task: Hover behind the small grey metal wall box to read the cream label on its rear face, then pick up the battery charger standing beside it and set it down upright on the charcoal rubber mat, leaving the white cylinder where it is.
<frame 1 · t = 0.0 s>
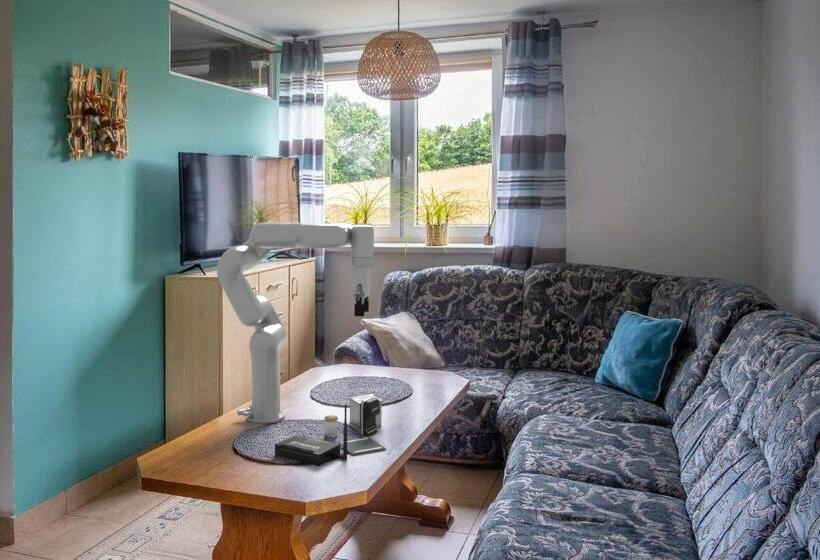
hand: (361, 313, 237), 37 cm above the table, tool pointing down, fingers open, 9 cm apart
white cylinder: (331, 435, 228), on the table
battery charger: (370, 434, 230), on the table
mat: (361, 447, 218), on the table
wall box: (365, 423, 240), on the table
black router: (313, 458, 209), on the table
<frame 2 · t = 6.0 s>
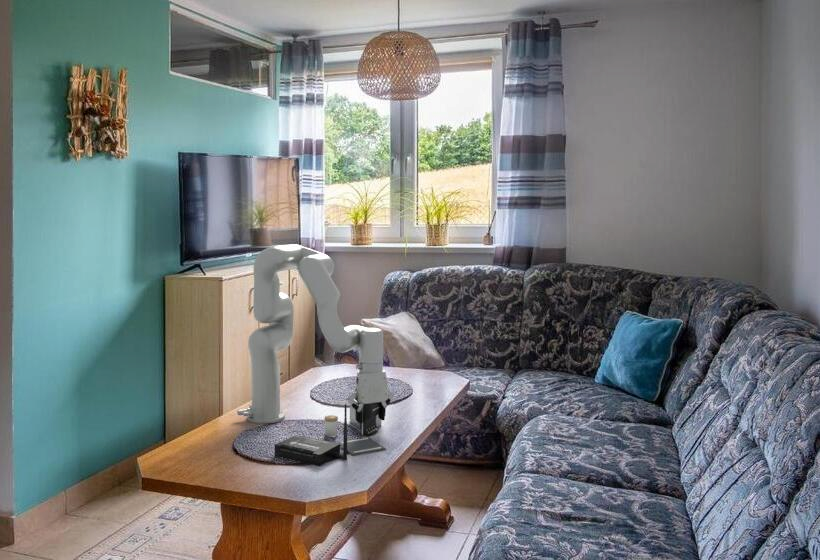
hand: (370, 420, 230), 4 cm above the table, tool pointing down, fingers closed on battery charger, 7 cm apart
battery charger: (370, 434, 230), on the table, touching gripper
everything else where it was.
when the fingers open (6 cm above the table, at t = 12.0 s): battery charger drops 1 cm, resting on mat.
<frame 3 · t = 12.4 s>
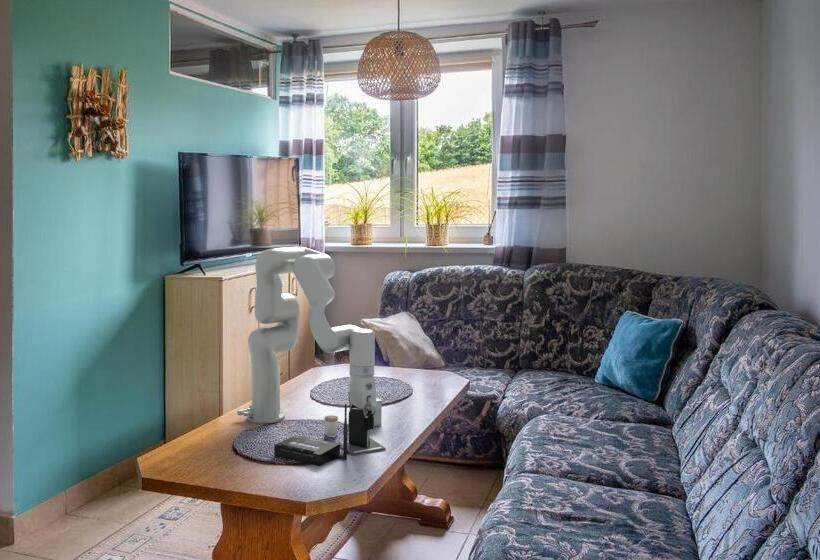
hand: (361, 425, 217), 7 cm above the table, tool pointing down, fingers open, 9 cm apart
battery charger: (360, 445, 218), resting on mat
everything else where it was.
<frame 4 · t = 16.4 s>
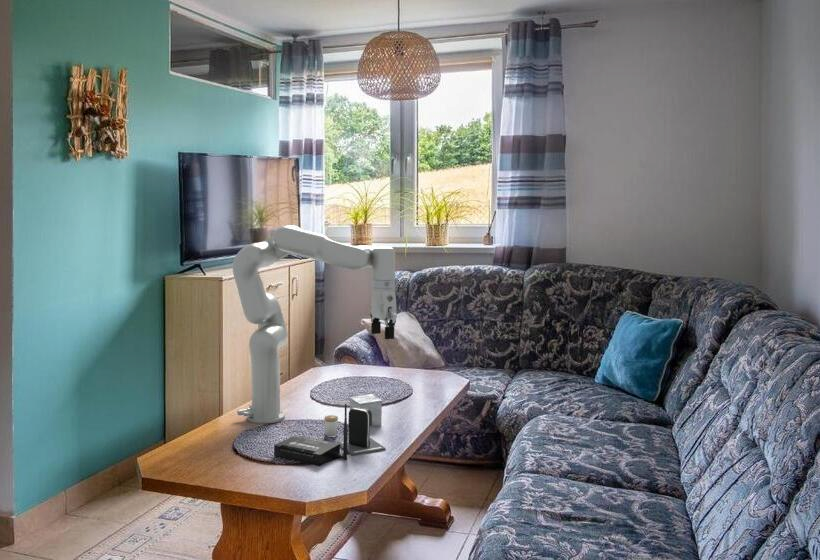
hand: (382, 336, 235), 30 cm above the table, tool pointing down, fingers open, 9 cm apart
nothing on the table moved.
at the end: battery charger inside the target area on the mat (0.5 cm from its centre), point 0.4 cm above the mat's base; battery charger tilted 0°; the gripper is holding nothing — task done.
